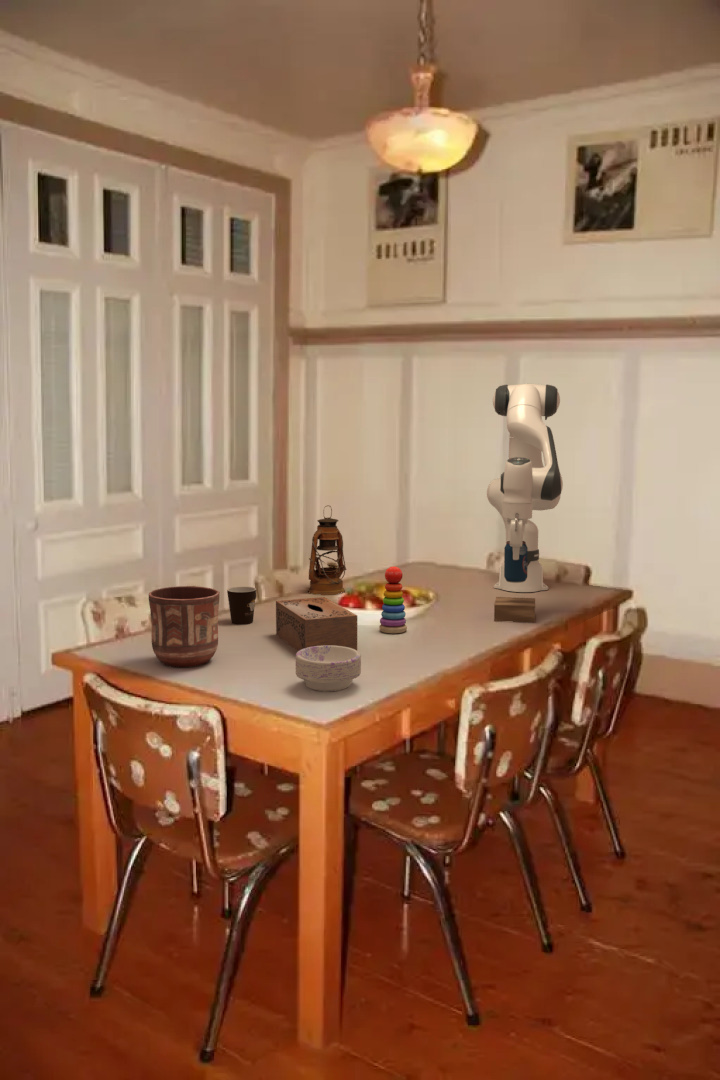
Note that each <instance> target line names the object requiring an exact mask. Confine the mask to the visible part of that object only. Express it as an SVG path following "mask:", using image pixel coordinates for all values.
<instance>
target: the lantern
mask: <svg viewBox="0 0 720 1080" xmlns="http://www.w3.org/2000/svg"><path fill="white" fill-rule="evenodd" d="M326 507H329V508H330V510H331V512H330V517H325V516H323V517H324V518H321V519H317V520H316V521H317V523H318V525H317V527H316V531H315V532H314V533H313V535H312V539H311V551H310V558H308V559H309V569H308V580H309V588H308V590H307V592H308V591H309V592H310V593H309V594H311V593H313V594H312V595H316V594H321V595H320V596H333V595H339V594H338V593H341V592H344V591H345V592H346V590H345V588H344V586H343V585H344V581H343V578H344V577H345V575H346V571H347V568H346V561H345V556H344V539H343V535H342V533H341V531H340V530H339V528H338V526H337V523H338V522H339V519H336V518H332V514H333V509H332V507H331V505H325V506H324V507H323V509H325V508H326ZM323 514H325V510H323ZM318 541H319V542H318ZM318 543H319V544H318ZM319 551H323V553H322V554H320V553H319ZM326 551H327V552H326ZM332 553H336V555H337V557H336V558H337V559H334V558H331V557H329V556H327V555H329V554H332ZM322 557H324V558H327V559H329V560H332V561H334V563H337V564H338V565H335V564H334V565H333V564H327V563H325V562H324V561H323V560H322V559H321V558H322ZM323 563H324V564H326V565H327V566H328V567H327V566H326V567H325V566H323ZM340 577H341V578H340ZM345 592H344V593H345ZM341 594H342V593H341Z"/></svg>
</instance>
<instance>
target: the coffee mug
mask: <svg viewBox="0 0 720 1080" xmlns="http://www.w3.org/2000/svg"><path fill="white" fill-rule="evenodd" d="M226 590H227V592H226V593H227V599H228V606H229V607H228V608H229V612H230V613H229V614H230V622H231V624H233V625H236V626H237V625H238V626H240V625H241V626H242V625H243V626H244V625H250V624H253V623H254V616H255V615H254V614H255V613H254V612H255V606H256V599H257V588H255V587H252V586H233V587H229V588H227V589H226Z"/></svg>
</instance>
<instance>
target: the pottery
mask: <svg viewBox="0 0 720 1080" xmlns="http://www.w3.org/2000/svg"><path fill="white" fill-rule="evenodd" d="M148 605H149V610H150V612H149V613H150V621H151V648H152V651H153V654H154V655H155V657H156V659H158V660H159V661H160V662H161V664H162V665H164V666H166V665H167V667H169V666H171V667H170V668H193V667H200V666H203V665H205V664H207V663H208V662H209V661H210V660H211V659H212V658H213V657H214V655H215V654H216V652H217V650H218V647H219V609H220V608H219V606H220V591H219V590H218V589H217V590H216V589H214V588H211V587H204V586H195V585H194V586H191V585H190V586H189V585H187V586H185V585H184V586H183V585H179V586H167V587H162V588H157V589H154V590H152V591H150V592H149V593H148Z"/></svg>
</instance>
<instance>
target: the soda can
mask: <svg viewBox="0 0 720 1080" xmlns="http://www.w3.org/2000/svg"><path fill="white" fill-rule="evenodd" d="M506 543H507V544H506ZM503 555H504V560H503V562H504V577H505V579H506V581H507V582H512V583H521V582H525V580H526V579H527V558H528V548H527V545H526V542H525V541H523V542H522V546H521V547H520V550H519V560H513V547H511V546H510V541H507V542H506V541H505V545H504V551H503Z"/></svg>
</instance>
